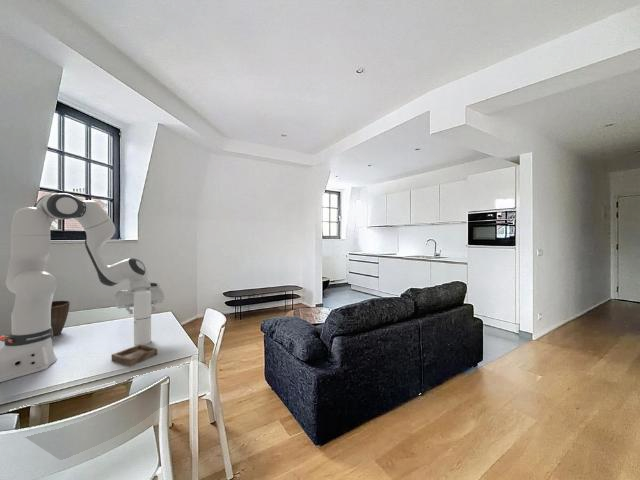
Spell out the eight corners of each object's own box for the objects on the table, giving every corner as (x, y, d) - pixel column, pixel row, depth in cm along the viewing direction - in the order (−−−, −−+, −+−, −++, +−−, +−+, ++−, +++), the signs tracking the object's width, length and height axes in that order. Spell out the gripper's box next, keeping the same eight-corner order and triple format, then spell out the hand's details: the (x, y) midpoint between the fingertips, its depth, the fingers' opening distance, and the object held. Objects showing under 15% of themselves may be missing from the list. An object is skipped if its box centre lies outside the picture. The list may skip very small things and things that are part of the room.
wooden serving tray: (129, 366, 113) (129, 360, 112) (111, 360, 117) (111, 354, 117) (157, 354, 124) (157, 349, 123) (139, 349, 128) (139, 344, 128)
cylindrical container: (145, 345, 133) (144, 293, 132) (130, 345, 133) (130, 293, 132) (154, 339, 140) (154, 290, 139) (140, 339, 140) (140, 290, 140)
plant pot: (41, 341, 135) (41, 309, 135) (23, 337, 140) (22, 306, 140) (76, 331, 149) (76, 302, 149) (59, 328, 154) (58, 299, 154)
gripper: (115, 287, 135) (116, 312, 128) (162, 283, 148) (166, 305, 141) (114, 295, 139) (116, 319, 132) (161, 290, 152) (164, 311, 145)
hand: (142, 312), depth 136 cm, fingers open, 8 cm apart
